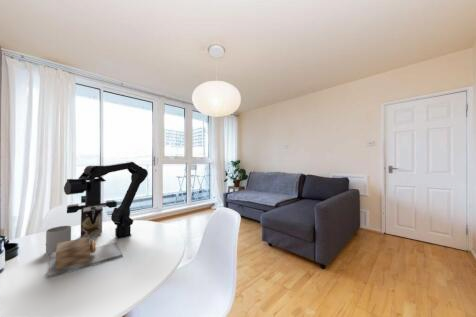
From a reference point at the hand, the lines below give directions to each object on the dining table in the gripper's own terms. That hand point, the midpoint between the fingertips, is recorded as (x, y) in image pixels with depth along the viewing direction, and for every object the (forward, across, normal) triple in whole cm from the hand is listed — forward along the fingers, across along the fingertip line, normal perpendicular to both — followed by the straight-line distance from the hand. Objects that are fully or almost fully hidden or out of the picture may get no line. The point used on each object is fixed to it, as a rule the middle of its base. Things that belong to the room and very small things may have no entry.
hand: (92, 224), depth 91 cm
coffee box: (+11, -1, -19) cm, 22 cm away
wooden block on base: (+11, +3, +12) cm, 16 cm away
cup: (+11, +12, -6) cm, 18 cm away
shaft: (+9, +7, +12) cm, 16 cm away
